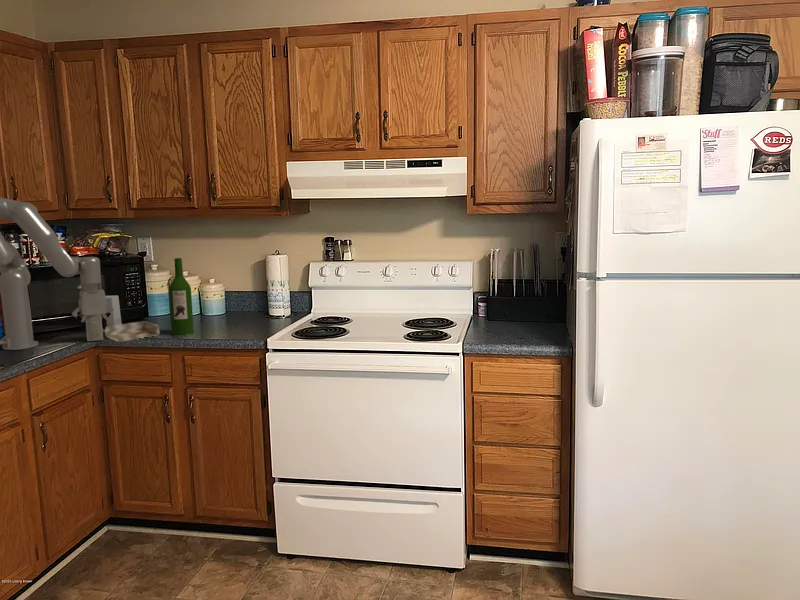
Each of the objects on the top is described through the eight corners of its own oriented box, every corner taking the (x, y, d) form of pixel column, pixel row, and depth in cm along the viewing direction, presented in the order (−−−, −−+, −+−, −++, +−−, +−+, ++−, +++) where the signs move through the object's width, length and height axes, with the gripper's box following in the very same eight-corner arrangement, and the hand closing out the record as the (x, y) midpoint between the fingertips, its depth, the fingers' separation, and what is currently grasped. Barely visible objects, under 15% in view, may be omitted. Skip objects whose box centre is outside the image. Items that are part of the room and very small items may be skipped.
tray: (116, 342, 278) (115, 331, 277) (105, 337, 288) (104, 326, 288) (159, 335, 290) (159, 325, 289) (147, 330, 300) (146, 320, 299)
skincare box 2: (122, 329, 304) (119, 295, 302) (115, 332, 298) (112, 297, 295) (104, 329, 305) (101, 295, 302) (96, 332, 298) (93, 297, 296)
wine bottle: (172, 336, 288) (166, 259, 283) (172, 332, 296) (167, 257, 291) (194, 334, 290) (189, 258, 285) (193, 330, 299) (188, 257, 294)
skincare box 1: (103, 338, 284) (101, 309, 282) (103, 340, 280) (101, 311, 279) (86, 339, 282) (84, 310, 280) (86, 341, 278) (84, 312, 276)
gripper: (71, 290, 269) (74, 334, 272) (116, 286, 281) (118, 328, 283) (65, 288, 275) (69, 331, 278) (110, 284, 286) (112, 326, 289)
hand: (94, 329), depth 280 cm, fingers closed on skincare box 1, 7 cm apart
